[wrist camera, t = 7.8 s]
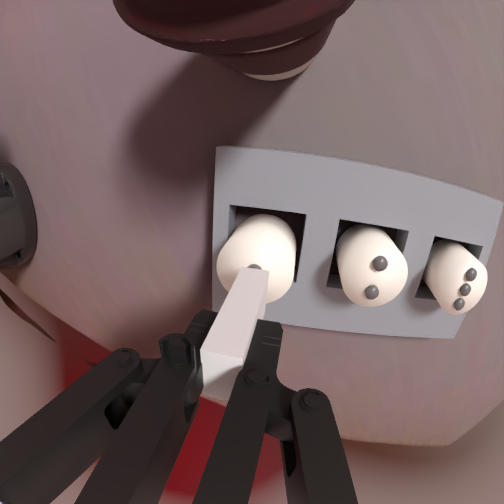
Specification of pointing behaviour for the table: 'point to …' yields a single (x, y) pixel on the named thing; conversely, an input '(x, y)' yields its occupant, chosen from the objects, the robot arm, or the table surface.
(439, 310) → the console
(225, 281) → the button
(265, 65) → the coffee cup
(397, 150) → the table surface
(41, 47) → the table surface
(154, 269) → the table surface
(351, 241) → the button
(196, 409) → the robot arm
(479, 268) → the button
